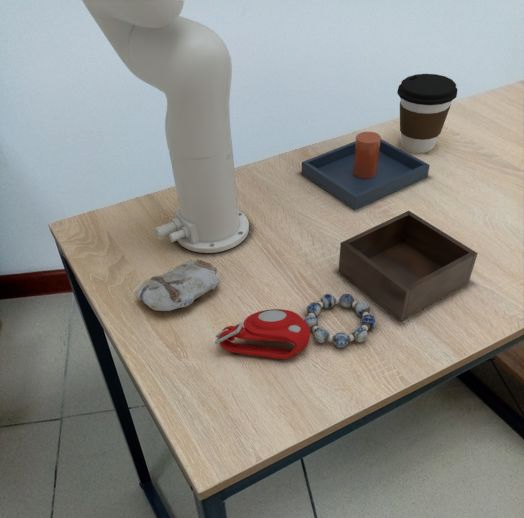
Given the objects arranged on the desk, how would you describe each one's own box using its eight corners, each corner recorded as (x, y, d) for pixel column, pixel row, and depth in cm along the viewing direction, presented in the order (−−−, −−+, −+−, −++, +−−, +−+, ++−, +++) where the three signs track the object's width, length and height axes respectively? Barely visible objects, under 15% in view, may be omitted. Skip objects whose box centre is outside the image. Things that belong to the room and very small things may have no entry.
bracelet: (317, 357, 70) (318, 346, 69) (293, 309, 76) (293, 299, 75) (385, 339, 72) (387, 328, 70) (356, 293, 78) (357, 283, 76)
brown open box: (400, 321, 74) (406, 291, 70) (338, 271, 82) (340, 242, 78) (468, 283, 78) (477, 253, 74) (403, 239, 86) (408, 210, 82)
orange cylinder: (363, 181, 98) (367, 145, 93) (348, 172, 100) (350, 136, 95) (381, 174, 99) (386, 137, 94) (365, 164, 102) (369, 129, 97)
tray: (354, 209, 93) (355, 197, 91) (301, 174, 102) (301, 161, 100) (427, 177, 99) (429, 164, 97) (371, 146, 108) (372, 134, 106)
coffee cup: (378, 146, 108) (386, 84, 99) (413, 128, 112) (423, 67, 103) (421, 165, 102) (433, 101, 93) (457, 145, 106) (471, 83, 97)
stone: (166, 329, 75) (161, 312, 73) (130, 299, 80) (124, 282, 77) (229, 288, 80) (227, 271, 78) (192, 262, 85) (189, 245, 82)
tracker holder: (270, 296, 77) (324, 314, 70) (272, 324, 79) (324, 344, 72) (206, 325, 69) (259, 348, 63) (209, 355, 72) (261, 379, 65)
